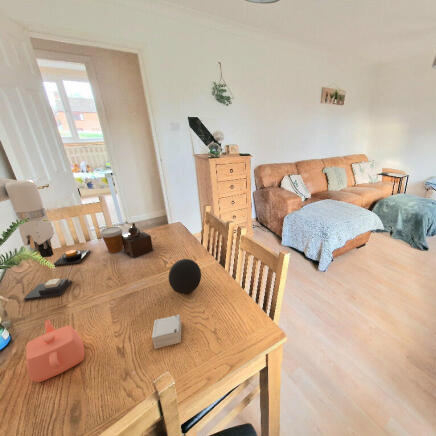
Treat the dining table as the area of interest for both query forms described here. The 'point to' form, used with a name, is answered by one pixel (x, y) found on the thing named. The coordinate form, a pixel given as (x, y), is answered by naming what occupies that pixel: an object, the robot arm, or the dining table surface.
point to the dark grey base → (48, 291)
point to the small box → (166, 331)
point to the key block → (72, 258)
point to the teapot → (53, 352)
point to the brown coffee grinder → (136, 242)
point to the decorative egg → (184, 276)
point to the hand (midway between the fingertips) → (47, 255)
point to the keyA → (52, 283)
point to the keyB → (71, 253)
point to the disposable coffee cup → (112, 239)
